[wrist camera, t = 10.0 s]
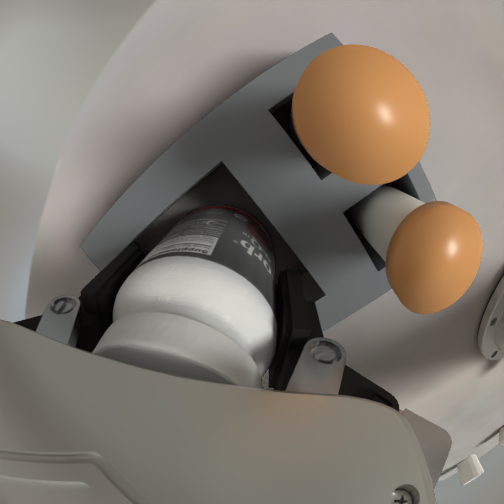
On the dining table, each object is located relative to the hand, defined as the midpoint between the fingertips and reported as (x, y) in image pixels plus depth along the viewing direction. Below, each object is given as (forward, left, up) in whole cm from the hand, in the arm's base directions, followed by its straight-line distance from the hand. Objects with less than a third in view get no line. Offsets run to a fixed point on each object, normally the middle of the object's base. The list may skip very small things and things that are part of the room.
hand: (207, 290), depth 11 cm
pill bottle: (0, 0, -4) cm, 4 cm away
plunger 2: (-2, -8, -3) cm, 9 cm away
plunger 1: (+2, -8, -3) cm, 9 cm away
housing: (0, -3, -4) cm, 5 cm away
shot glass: (-78, -10, -4) cm, 79 cm away
